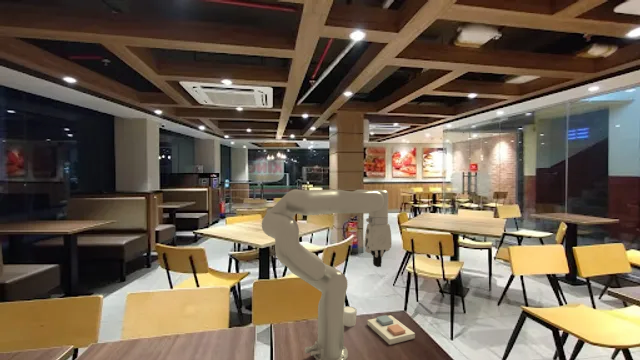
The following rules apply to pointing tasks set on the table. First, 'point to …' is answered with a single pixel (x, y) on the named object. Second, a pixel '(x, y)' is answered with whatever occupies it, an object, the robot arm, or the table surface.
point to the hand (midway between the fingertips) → (377, 265)
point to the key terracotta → (396, 330)
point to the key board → (386, 334)
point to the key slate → (384, 320)
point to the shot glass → (349, 316)
